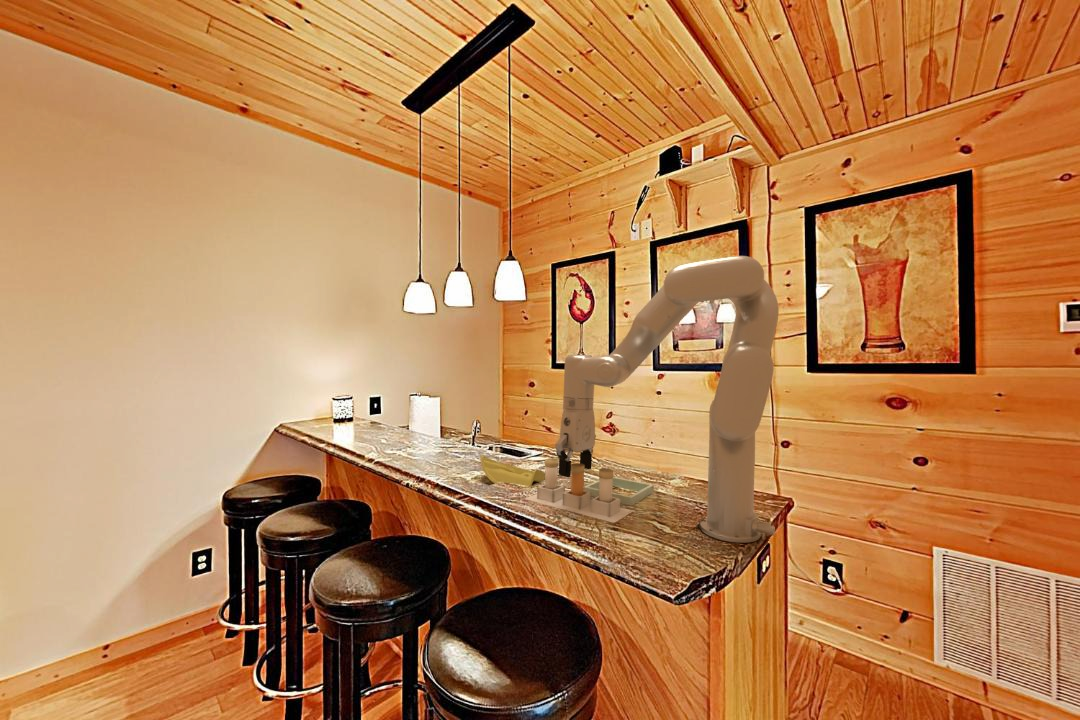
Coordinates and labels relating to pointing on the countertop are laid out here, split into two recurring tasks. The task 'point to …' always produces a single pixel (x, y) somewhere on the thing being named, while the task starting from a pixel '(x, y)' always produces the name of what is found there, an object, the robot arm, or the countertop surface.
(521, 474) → the plastic component
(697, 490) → the countertop surface
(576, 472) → the cylinder
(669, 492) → the countertop surface
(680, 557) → the countertop surface
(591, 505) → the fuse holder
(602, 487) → the cylinder
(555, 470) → the cylinder
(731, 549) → the countertop surface
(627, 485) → the tray
